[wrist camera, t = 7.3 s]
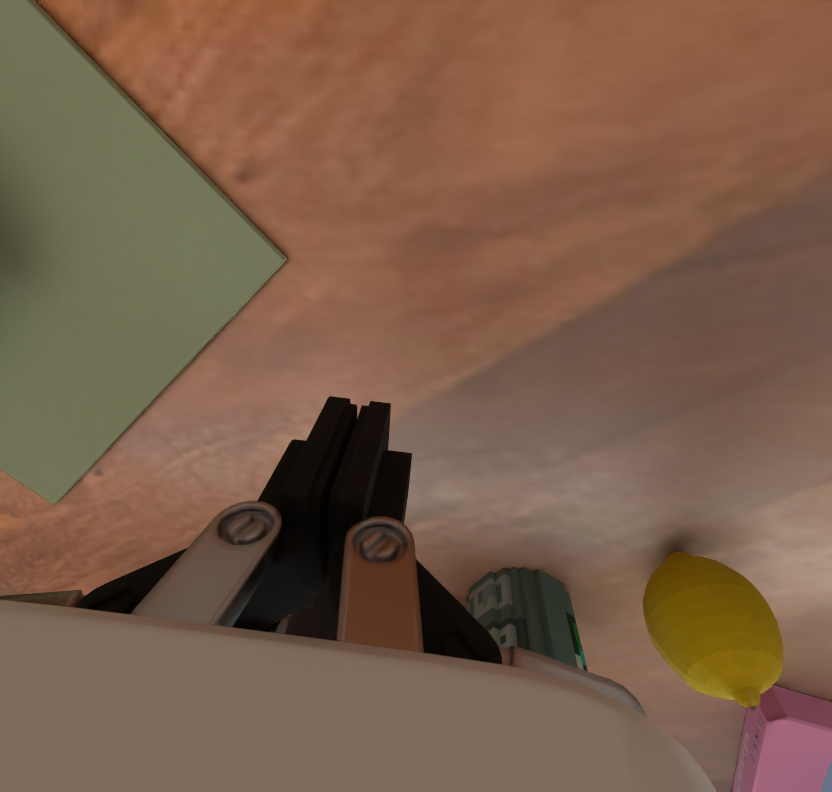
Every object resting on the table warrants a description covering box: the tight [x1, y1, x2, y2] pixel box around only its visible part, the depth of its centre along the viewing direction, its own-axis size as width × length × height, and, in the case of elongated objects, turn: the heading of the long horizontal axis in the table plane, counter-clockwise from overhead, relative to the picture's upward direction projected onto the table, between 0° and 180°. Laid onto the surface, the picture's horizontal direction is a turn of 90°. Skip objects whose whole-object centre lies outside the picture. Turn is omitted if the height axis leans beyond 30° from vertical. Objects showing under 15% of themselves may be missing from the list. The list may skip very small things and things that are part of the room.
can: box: [466, 567, 587, 671], centre depth 22 cm, size 6×6×15 cm
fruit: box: [643, 552, 783, 711], centre depth 22 cm, size 6×6×8 cm
